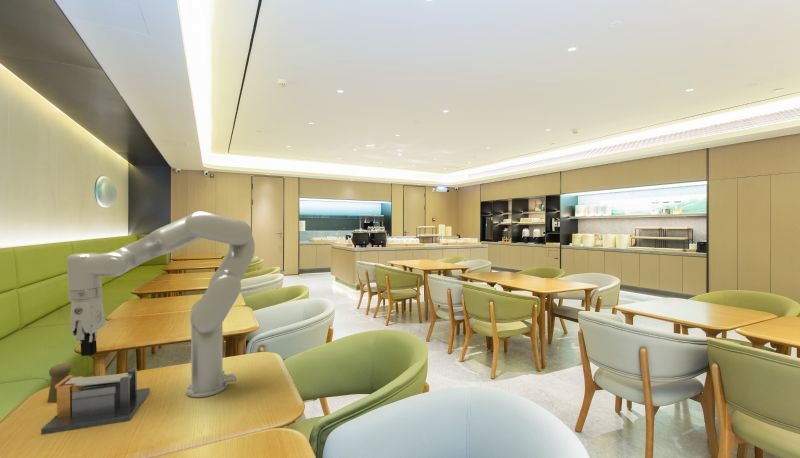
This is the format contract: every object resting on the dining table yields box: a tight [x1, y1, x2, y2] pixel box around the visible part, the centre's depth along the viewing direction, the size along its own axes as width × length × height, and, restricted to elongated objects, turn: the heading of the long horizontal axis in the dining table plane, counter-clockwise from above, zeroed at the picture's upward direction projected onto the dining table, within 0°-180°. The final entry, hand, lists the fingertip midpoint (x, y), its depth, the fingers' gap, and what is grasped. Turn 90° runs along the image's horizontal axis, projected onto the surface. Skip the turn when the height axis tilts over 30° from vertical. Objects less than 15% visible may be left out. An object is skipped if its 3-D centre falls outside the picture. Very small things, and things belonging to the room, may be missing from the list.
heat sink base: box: [40, 368, 151, 436], centre depth 107 cm, size 20×18×11 cm
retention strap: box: [64, 373, 133, 386], centre depth 107 cm, size 16×4×1 cm, turn 110°
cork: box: [47, 362, 72, 404], centre depth 115 cm, size 6×6×11 cm
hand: (89, 354), depth 106 cm, fingers closed
